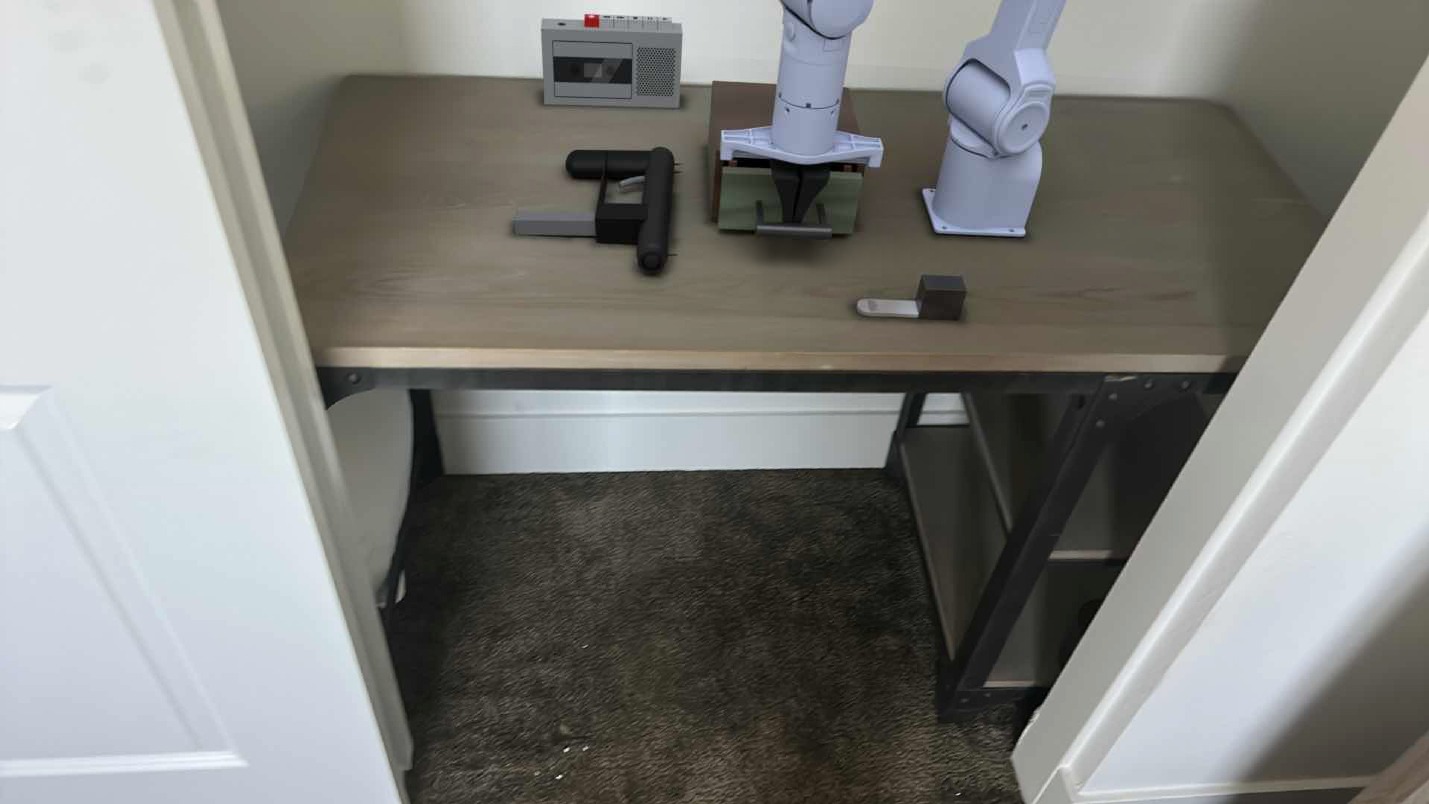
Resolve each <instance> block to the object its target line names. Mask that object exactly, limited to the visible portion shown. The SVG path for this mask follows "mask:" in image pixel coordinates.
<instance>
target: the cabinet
mask: <svg viewBox="0 0 1429 804" xmlns="http://www.w3.org/2000/svg"><path fill="white" fill-rule="evenodd" d="M776 86H777V83H768V82H767V83H766V82H749V81H747V82H745V81H728V80H727V81H725V80H712V81H711V93H710V108H709V120H708V121H709V122H708V136H707V137H708V139H707V164H708V165H707V166H708V167H707V168H708V186H709V187H708V188H709V189H708V191H709V209H710V210H709V211H710V212H709V213H710V222H712V223H718V215H719V203H720V190H721V178H722V167H723V164H724V160H721V159H720V142H721V131H722V130H744V129H752V128H759V127H767V126H772V121H773V113H774V104H775V96H776ZM859 125H860V124H859V122H858V118H857V114H856V111H855V107H854V103H853V99H852V96H851V92H850V88H849V87H844V86H843V91H842V98H841V104H840V110H839V116H838V122H837V128H836V131H841V132H845V133H850V134H854V135H859V136H862V133H861V129H860V126H859ZM733 158H748V157H733ZM748 159H768V158H748ZM834 163H849V162H834ZM851 165H852V170H851V172H854V173H861V174H862V178H863V179H864V176H865V171H866V165H867V163H851ZM862 186H863V185H862ZM862 186H861V188H862ZM858 204H859V202H858ZM855 223H856V222H855ZM855 223H854V225H855Z"/></svg>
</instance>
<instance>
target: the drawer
mask: <svg viewBox="0 0 1429 804" xmlns="http://www.w3.org/2000/svg"><path fill="white" fill-rule="evenodd" d="M829 168H830V178H829V181H828V183H827V185H826V186H825V187H824V188H823V189H822V190H821V191H820V192H819V193H818V195H817V196H816V197H815V199H814V200H813V201H812V203H811V205H810V206H809V208H808V210H807V212H806V213H805V216H804V218H803V220H802V222H801V223H783V222H782V204H781V200H780V196H779V193H778V190H777V188H776V185H775V183H774V180H773V177H772V173H771V166H770V159H748V158H733V159H732V160H724V164H723V167H722V178H721V190H720V203H719V215H718V222H717V228H718V229H720V230H721V229H723V230H744V231H754V232H755V238H757V239H777V240H778V239H779V240H780V239H781V240H805V241H826V242H827V241H828V242H829V241H831V239H832V234H841V235H853V233H854V228H855V224H854V223H856V218H857V212H858V207H859V203H858V202H859V201H860V197H861V191H862V187H861V186H863V181H864V177H863V178H862V174H861V173H854V172H851V170H852V165H851V163H834V162H830V165H829Z"/></svg>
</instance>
